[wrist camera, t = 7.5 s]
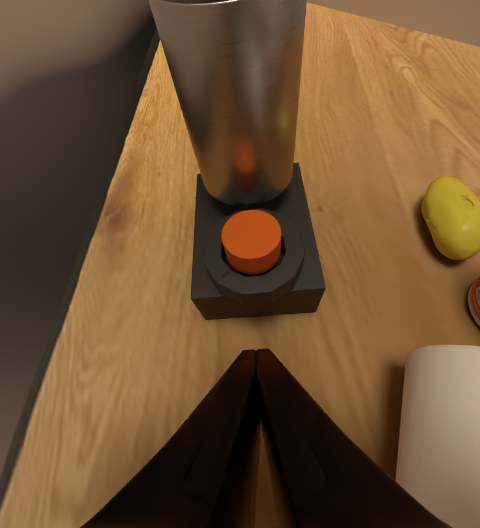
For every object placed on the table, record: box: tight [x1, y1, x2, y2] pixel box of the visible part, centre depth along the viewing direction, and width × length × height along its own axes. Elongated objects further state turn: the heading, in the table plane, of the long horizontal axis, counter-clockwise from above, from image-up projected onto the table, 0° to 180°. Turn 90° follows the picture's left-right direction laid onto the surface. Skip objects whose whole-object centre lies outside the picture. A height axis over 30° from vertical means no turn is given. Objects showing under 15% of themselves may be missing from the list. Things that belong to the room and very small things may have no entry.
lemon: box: [421, 177, 480, 260], centre depth 22 cm, size 4×8×4 cm, turn 170°
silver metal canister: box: [149, 0, 307, 206], centre depth 16 cm, size 7×7×12 cm
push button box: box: [191, 163, 326, 320], centre depth 22 cm, size 13×9×6 cm
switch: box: [221, 210, 281, 275], centre depth 17 cm, size 4×4×2 cm
